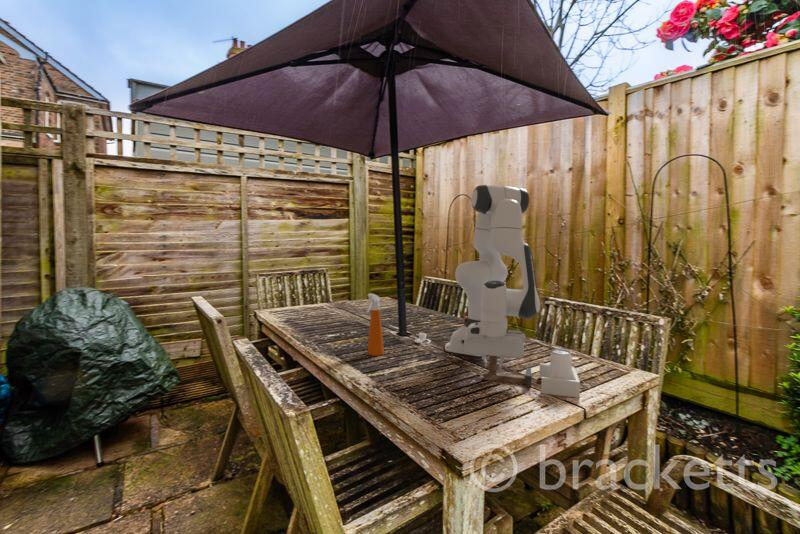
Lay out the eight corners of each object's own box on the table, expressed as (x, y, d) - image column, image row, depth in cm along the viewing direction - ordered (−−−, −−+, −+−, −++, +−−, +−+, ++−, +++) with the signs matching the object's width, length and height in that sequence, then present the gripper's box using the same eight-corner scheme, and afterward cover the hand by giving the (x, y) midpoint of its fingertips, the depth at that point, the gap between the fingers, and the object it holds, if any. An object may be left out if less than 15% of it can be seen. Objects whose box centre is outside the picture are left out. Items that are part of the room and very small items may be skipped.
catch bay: (541, 393, 117) (541, 377, 117) (539, 377, 130) (539, 363, 130) (579, 397, 114) (580, 382, 113) (573, 380, 127) (574, 366, 126)
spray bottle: (359, 357, 152) (359, 293, 150) (372, 349, 162) (372, 290, 159) (374, 359, 149) (374, 295, 147) (387, 352, 159) (386, 291, 156)
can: (560, 392, 117) (562, 355, 116) (545, 385, 123) (546, 350, 122) (575, 389, 120) (576, 353, 119) (559, 382, 126) (560, 347, 125)
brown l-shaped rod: (482, 382, 126) (483, 356, 125) (484, 374, 133) (485, 349, 132) (531, 388, 121) (531, 361, 120) (530, 379, 128) (531, 353, 128)
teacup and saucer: (416, 345, 169) (417, 336, 169) (409, 341, 177) (409, 332, 176) (433, 343, 173) (433, 334, 172) (426, 339, 180) (426, 330, 180)
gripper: (525, 328, 127) (524, 367, 128) (465, 324, 133) (465, 361, 134) (525, 333, 121) (524, 374, 122) (462, 328, 127) (462, 367, 128)
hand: (492, 367), depth 128 cm, fingers closed on brown l-shaped rod, 2 cm apart
